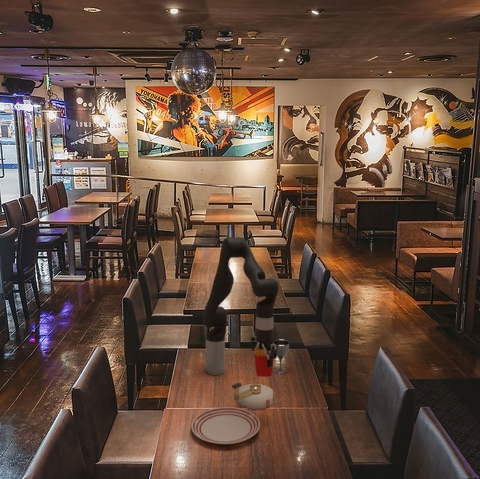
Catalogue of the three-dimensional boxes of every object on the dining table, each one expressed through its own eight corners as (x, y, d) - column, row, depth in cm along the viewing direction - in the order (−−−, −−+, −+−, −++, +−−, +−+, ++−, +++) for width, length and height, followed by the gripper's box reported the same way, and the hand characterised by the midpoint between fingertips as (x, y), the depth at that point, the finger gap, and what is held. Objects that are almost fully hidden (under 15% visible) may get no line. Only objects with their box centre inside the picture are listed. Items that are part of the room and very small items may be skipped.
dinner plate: (198, 455, 198) (198, 446, 198) (186, 418, 224) (186, 410, 224) (269, 444, 206) (269, 436, 205) (249, 410, 232) (249, 403, 231)
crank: (255, 387, 242) (255, 374, 241) (263, 391, 239) (263, 377, 238) (229, 398, 232) (229, 383, 231) (236, 402, 229) (236, 387, 228)
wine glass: (269, 368, 273) (270, 340, 270) (283, 366, 276) (284, 338, 273) (277, 375, 266) (278, 346, 263) (291, 372, 269) (292, 343, 266)
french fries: (273, 372, 227) (273, 346, 224) (273, 376, 223) (274, 349, 221) (253, 372, 227) (253, 345, 225) (253, 376, 223) (253, 349, 221)
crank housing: (230, 399, 241) (230, 390, 240) (256, 388, 251) (256, 380, 250) (254, 413, 228) (254, 404, 228) (281, 401, 239) (281, 393, 238)
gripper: (283, 328, 218) (282, 367, 221) (259, 319, 228) (258, 356, 232) (270, 333, 213) (269, 372, 216) (246, 323, 224) (245, 361, 227)
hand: (263, 364), depth 224 cm, fingers closed on french fries, 6 cm apart
